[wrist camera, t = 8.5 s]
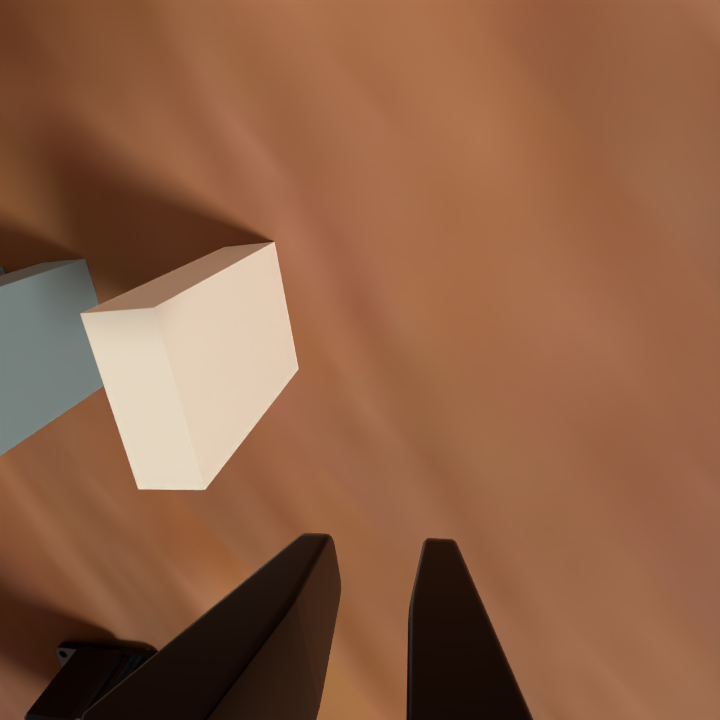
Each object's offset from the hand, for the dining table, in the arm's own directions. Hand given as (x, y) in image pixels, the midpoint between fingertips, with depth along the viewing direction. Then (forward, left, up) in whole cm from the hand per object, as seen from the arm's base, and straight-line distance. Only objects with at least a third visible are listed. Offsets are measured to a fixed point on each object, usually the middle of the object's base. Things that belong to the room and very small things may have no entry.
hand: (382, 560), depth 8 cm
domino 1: (0, +15, -13) cm, 20 cm away
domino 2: (0, +7, -13) cm, 15 cm away
